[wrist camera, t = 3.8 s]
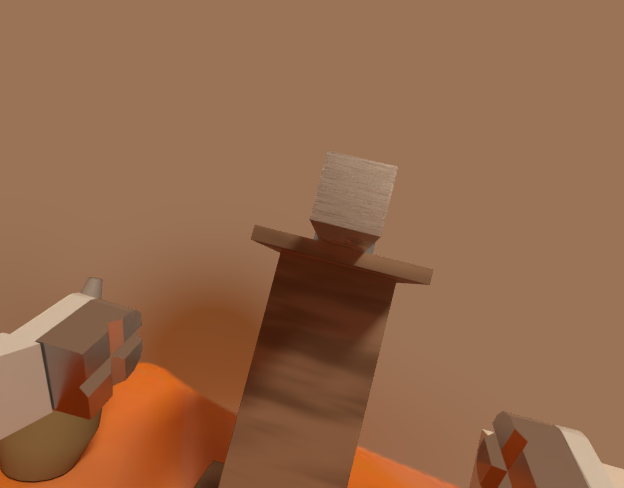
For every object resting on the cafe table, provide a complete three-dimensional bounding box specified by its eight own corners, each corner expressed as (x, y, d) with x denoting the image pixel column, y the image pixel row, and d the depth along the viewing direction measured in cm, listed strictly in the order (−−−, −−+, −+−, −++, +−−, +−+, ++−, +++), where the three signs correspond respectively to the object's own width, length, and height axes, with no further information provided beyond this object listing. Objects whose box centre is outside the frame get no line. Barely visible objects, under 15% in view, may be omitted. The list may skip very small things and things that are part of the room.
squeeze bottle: (59, 500, 31) (120, 292, 32) (-42, 481, 30) (25, 269, 32) (102, 451, 39) (150, 286, 40) (23, 435, 38) (75, 267, 40)
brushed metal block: (380, 236, 15) (397, 166, 15) (309, 219, 15) (327, 150, 15) (353, 263, 41) (359, 237, 41) (326, 256, 41) (333, 230, 41)
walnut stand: (366, 710, 21) (471, 246, 23) (114, 619, 23) (234, 189, 25) (353, 514, 39) (413, 260, 41) (212, 469, 41) (277, 226, 43)
